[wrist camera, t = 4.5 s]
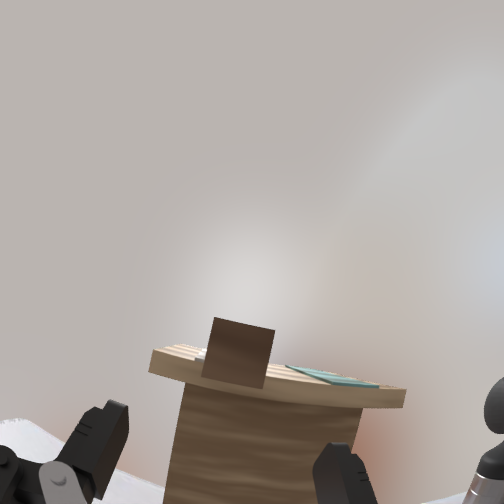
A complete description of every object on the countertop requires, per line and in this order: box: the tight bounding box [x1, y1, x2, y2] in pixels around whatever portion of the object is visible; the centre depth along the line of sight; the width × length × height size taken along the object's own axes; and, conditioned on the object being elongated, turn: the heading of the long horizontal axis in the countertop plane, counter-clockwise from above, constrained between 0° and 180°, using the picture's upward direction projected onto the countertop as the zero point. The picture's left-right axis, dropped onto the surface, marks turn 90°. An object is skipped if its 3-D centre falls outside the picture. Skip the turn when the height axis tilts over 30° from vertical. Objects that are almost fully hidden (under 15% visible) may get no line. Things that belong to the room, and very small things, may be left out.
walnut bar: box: [201, 317, 275, 389], centre depth 26 cm, size 26×3×3 cm, turn 7°
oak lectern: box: [148, 344, 406, 504], centre depth 27 cm, size 20×24×32 cm
